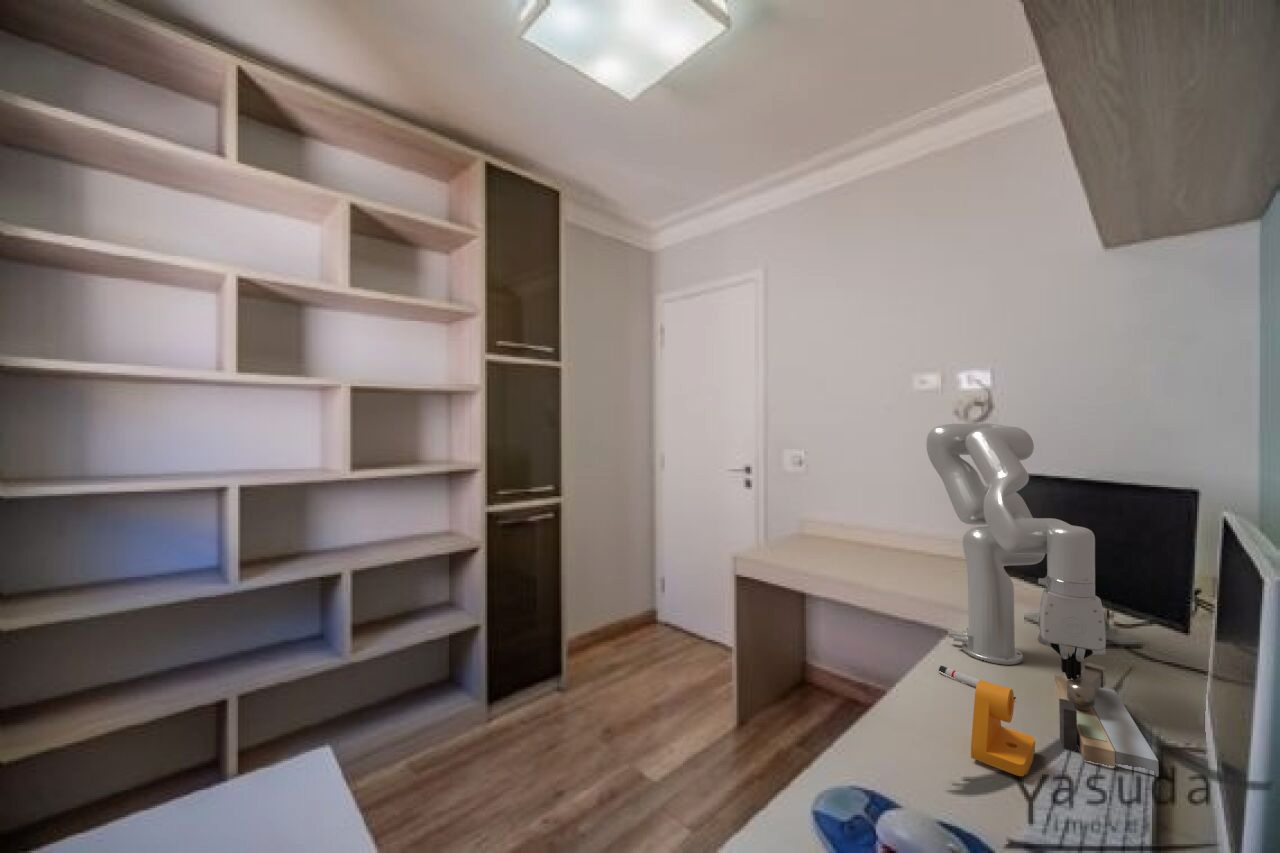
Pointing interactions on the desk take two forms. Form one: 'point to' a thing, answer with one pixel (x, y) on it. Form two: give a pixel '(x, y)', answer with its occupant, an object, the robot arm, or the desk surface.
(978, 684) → the bracket
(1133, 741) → the doorframe
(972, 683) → the marker
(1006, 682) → the desk surface
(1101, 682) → the door handle
